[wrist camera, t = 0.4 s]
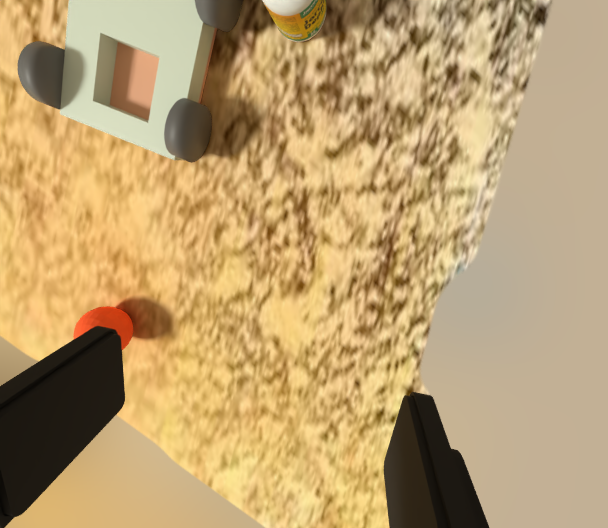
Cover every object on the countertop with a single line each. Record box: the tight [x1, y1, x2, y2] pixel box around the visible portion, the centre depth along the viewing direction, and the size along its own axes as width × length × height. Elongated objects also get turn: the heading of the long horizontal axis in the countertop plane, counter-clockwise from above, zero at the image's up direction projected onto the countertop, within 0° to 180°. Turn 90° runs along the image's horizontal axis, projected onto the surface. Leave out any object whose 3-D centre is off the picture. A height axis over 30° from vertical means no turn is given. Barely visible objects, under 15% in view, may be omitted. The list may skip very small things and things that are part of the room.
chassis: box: [18, 0, 243, 162], centre depth 31 cm, size 20×18×6 cm
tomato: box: [74, 307, 133, 350], centre depth 43 cm, size 8×7×7 cm
